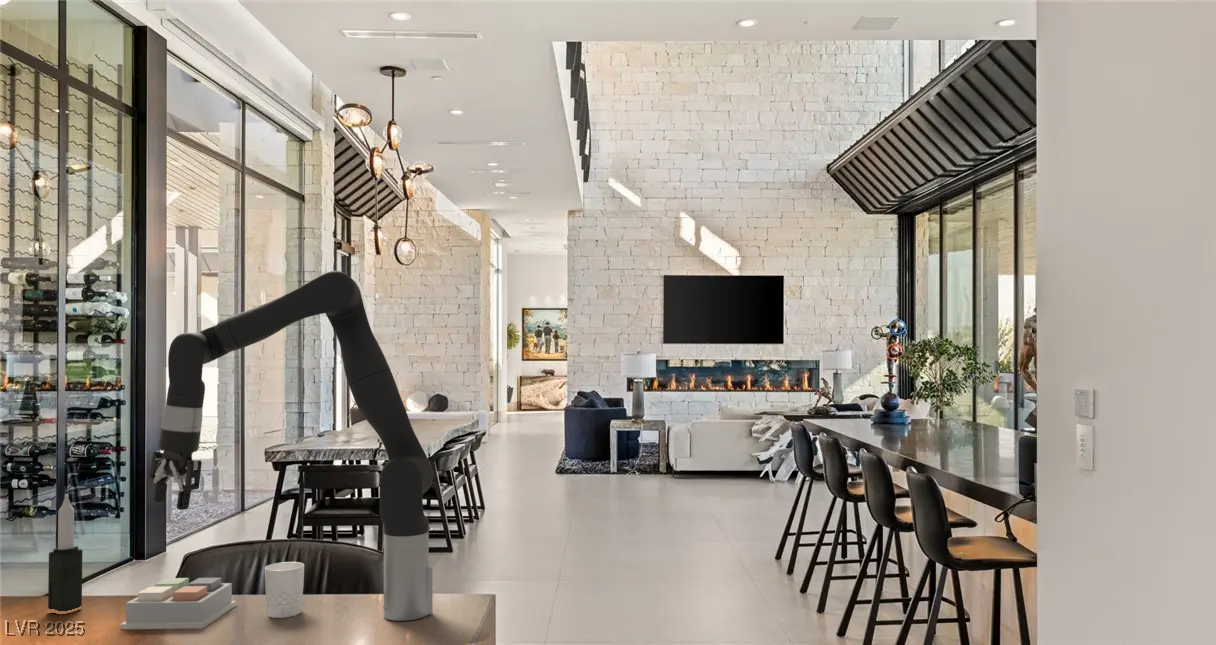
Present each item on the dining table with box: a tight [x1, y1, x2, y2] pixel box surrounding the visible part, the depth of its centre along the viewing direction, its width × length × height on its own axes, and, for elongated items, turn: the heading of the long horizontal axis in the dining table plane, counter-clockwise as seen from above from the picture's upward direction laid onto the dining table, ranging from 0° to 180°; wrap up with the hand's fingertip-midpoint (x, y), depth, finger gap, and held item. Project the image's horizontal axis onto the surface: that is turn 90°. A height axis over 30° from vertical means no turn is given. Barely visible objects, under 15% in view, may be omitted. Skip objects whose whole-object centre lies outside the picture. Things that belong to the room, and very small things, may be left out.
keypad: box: [119, 582, 237, 630], centre depth 186 cm, size 16×16×5 cm
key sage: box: [154, 577, 190, 592], centre depth 190 cm, size 5×5×3 cm
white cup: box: [264, 561, 305, 619], centre depth 188 cm, size 8×8×10 cm
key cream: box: [137, 586, 173, 602], centre depth 183 cm, size 5×5×3 cm
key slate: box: [189, 577, 222, 592], centre depth 190 cm, size 5×5×3 cm
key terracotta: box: [173, 586, 207, 601], centre depth 183 cm, size 5×5×3 cm
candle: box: [47, 493, 84, 611], centre depth 192 cm, size 5×5×25 cm
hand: (170, 505), depth 185 cm, fingers open, 8 cm apart
